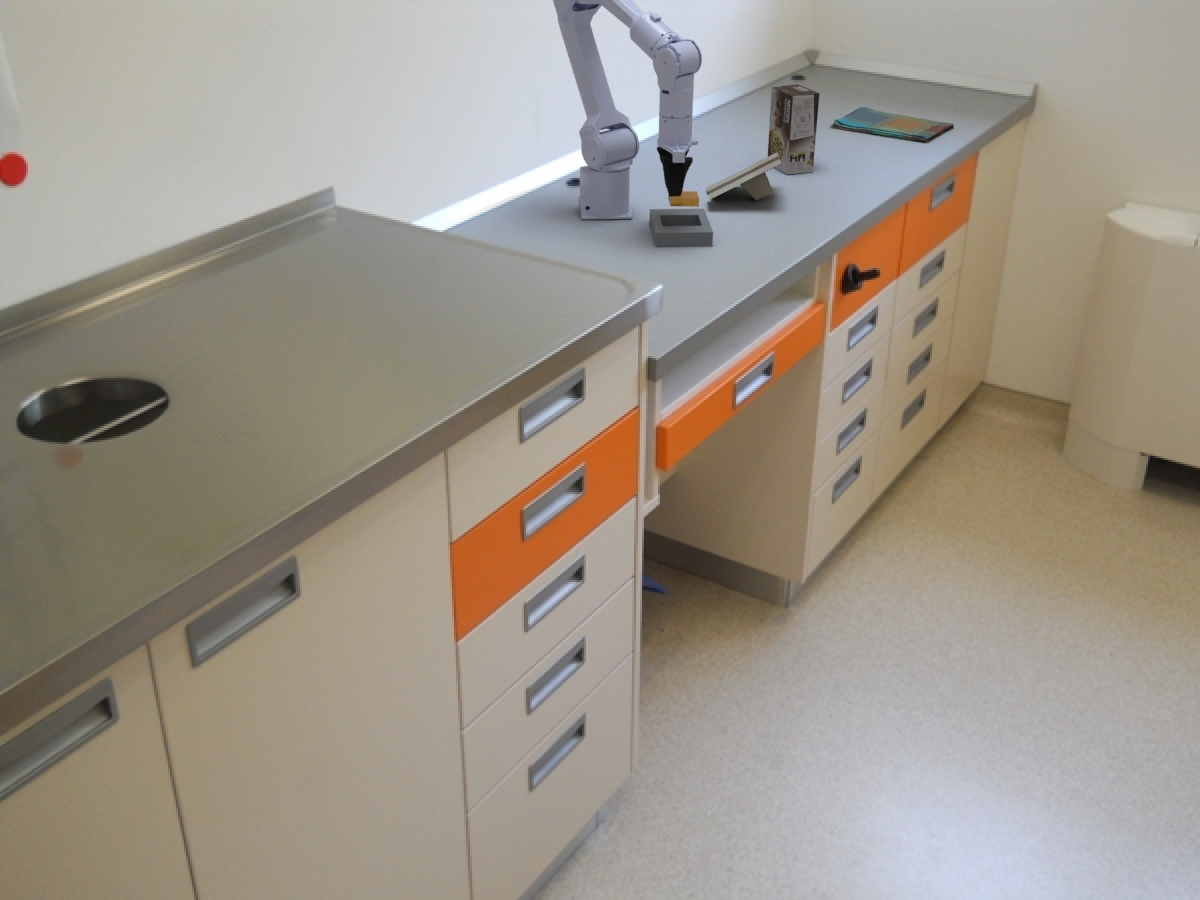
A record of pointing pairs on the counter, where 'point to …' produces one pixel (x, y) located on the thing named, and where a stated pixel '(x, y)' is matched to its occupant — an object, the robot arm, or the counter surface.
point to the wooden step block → (685, 199)
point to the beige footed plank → (748, 179)
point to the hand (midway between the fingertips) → (673, 191)
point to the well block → (680, 227)
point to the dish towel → (891, 125)
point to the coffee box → (793, 127)
